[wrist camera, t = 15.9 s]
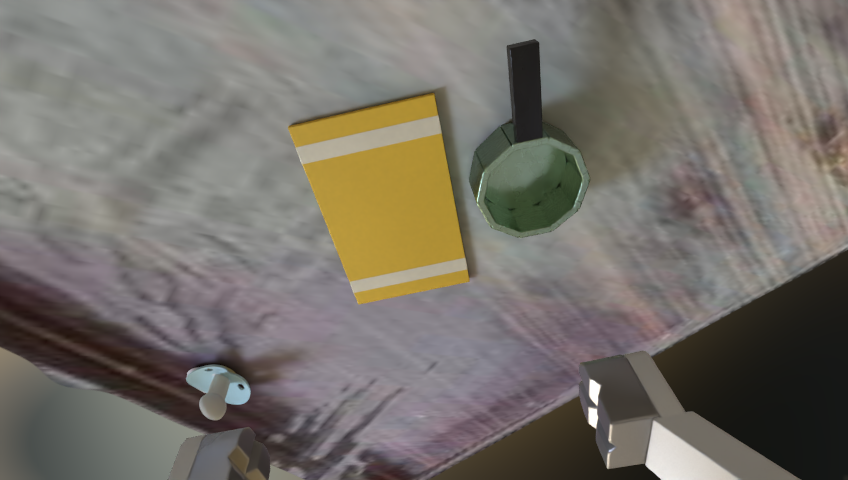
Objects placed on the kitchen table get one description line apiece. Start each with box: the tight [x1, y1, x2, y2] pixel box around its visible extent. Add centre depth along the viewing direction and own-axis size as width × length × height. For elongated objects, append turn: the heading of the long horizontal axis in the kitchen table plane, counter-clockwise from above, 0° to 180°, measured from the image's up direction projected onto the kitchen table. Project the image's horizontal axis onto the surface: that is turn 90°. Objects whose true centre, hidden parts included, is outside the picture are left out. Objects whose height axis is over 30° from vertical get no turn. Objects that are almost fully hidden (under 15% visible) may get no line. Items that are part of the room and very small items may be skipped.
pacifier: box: [186, 364, 251, 420], centre depth 50 cm, size 7×6×6 cm
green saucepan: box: [469, 39, 590, 238], centre depth 36 cm, size 16×9×4 cm, turn 11°
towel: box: [288, 93, 470, 304], centre depth 42 cm, size 20×12×1 cm, turn 11°
